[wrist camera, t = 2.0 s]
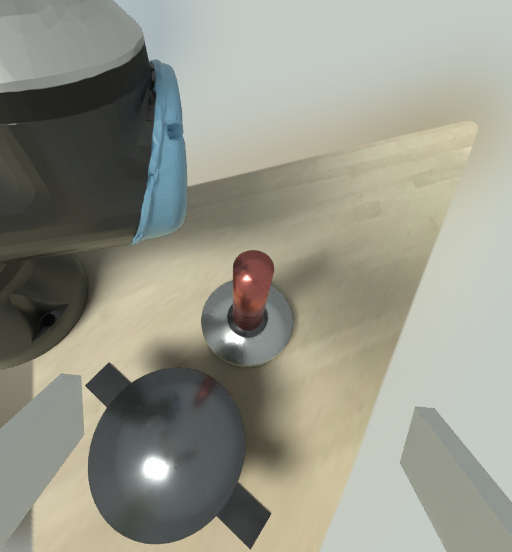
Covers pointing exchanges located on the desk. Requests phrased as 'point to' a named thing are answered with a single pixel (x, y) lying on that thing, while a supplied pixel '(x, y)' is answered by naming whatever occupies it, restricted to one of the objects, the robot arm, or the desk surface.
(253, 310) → the lid
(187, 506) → the pot
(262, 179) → the desk surface
